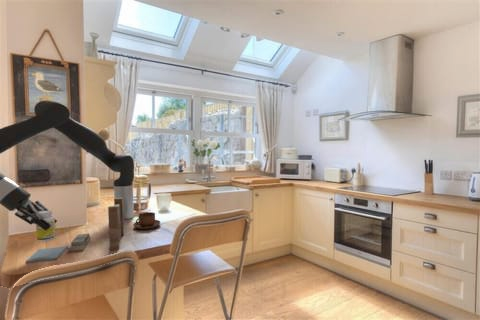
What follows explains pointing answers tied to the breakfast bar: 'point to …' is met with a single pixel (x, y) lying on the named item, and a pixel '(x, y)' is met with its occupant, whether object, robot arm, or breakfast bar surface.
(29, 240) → the breakfast bar surface
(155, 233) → the breakfast bar surface
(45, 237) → the supplement bottle
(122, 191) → the robot arm
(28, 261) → the grey mat
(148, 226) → the cup and saucer
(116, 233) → the offcut rack
